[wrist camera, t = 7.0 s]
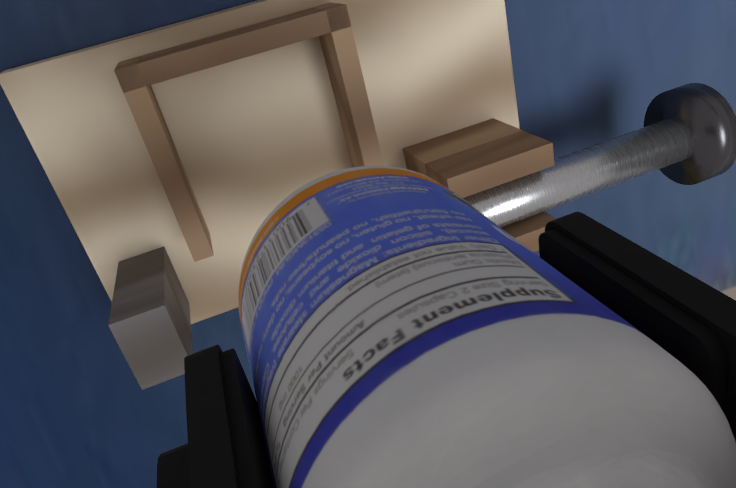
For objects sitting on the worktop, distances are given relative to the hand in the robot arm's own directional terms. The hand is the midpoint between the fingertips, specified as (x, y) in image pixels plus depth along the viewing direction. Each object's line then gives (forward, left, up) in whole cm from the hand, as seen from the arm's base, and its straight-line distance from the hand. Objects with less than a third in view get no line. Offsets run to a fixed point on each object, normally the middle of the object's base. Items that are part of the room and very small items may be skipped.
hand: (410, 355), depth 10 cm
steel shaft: (+5, +10, -16) cm, 19 cm away
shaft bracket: (+1, +2, -19) cm, 19 cm away
